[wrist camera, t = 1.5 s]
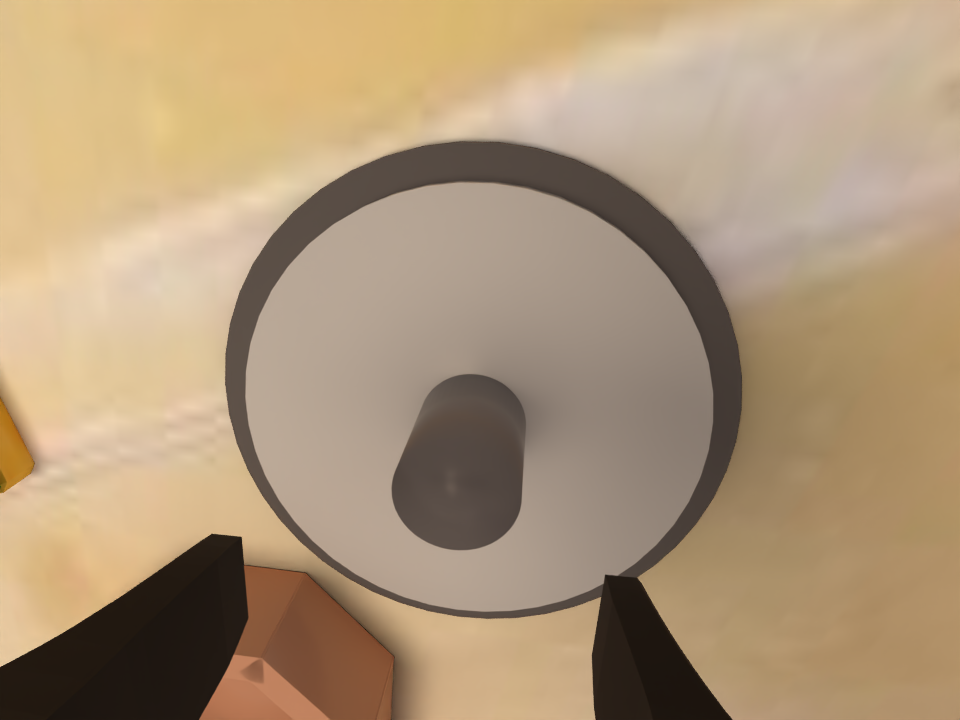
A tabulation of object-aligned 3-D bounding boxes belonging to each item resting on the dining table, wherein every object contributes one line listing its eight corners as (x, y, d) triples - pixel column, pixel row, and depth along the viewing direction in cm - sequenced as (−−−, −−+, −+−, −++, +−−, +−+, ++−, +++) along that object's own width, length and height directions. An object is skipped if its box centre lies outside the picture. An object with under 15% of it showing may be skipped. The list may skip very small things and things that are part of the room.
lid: (755, 204, 18) (825, 236, 13) (662, 619, 23) (690, 743, 18) (245, 158, 19) (151, 173, 14) (264, 568, 24) (198, 676, 19)
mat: (796, 168, 18) (802, 169, 17) (684, 637, 23) (685, 646, 23) (215, 117, 19) (208, 117, 18) (242, 580, 24) (237, 588, 24)
